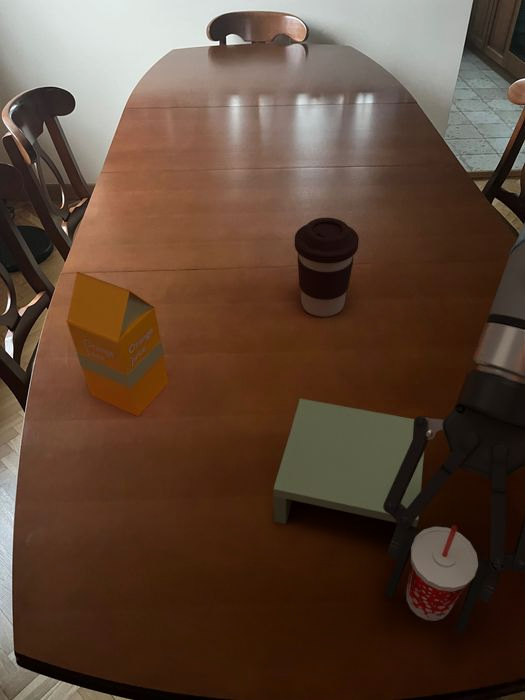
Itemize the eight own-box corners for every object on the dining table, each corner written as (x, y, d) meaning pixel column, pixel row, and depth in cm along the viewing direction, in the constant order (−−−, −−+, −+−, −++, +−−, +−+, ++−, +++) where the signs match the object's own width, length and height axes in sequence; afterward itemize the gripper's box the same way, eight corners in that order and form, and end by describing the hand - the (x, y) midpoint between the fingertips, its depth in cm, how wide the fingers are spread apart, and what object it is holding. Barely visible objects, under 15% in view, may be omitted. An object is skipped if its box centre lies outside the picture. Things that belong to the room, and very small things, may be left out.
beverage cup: (467, 626, 59) (501, 557, 50) (406, 631, 59) (429, 563, 49) (448, 568, 64) (477, 495, 54) (392, 572, 63) (411, 500, 54)
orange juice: (137, 417, 83) (109, 308, 70) (89, 395, 87) (53, 287, 73) (170, 382, 88) (149, 273, 75) (123, 362, 92) (95, 255, 78)
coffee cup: (342, 283, 105) (349, 208, 94) (359, 319, 98) (368, 242, 87) (288, 290, 104) (288, 215, 93) (300, 327, 97) (302, 250, 86)
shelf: (408, 552, 68) (418, 520, 63) (273, 521, 71) (273, 488, 66) (417, 455, 78) (426, 421, 73) (298, 432, 81) (299, 398, 76)
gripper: (614, 416, 55) (526, 646, 56) (416, 350, 62) (341, 554, 63) (631, 417, 48) (530, 680, 49) (406, 342, 55) (322, 572, 56)
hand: (424, 608), depth 56 cm, fingers closed on beverage cup, 6 cm apart
